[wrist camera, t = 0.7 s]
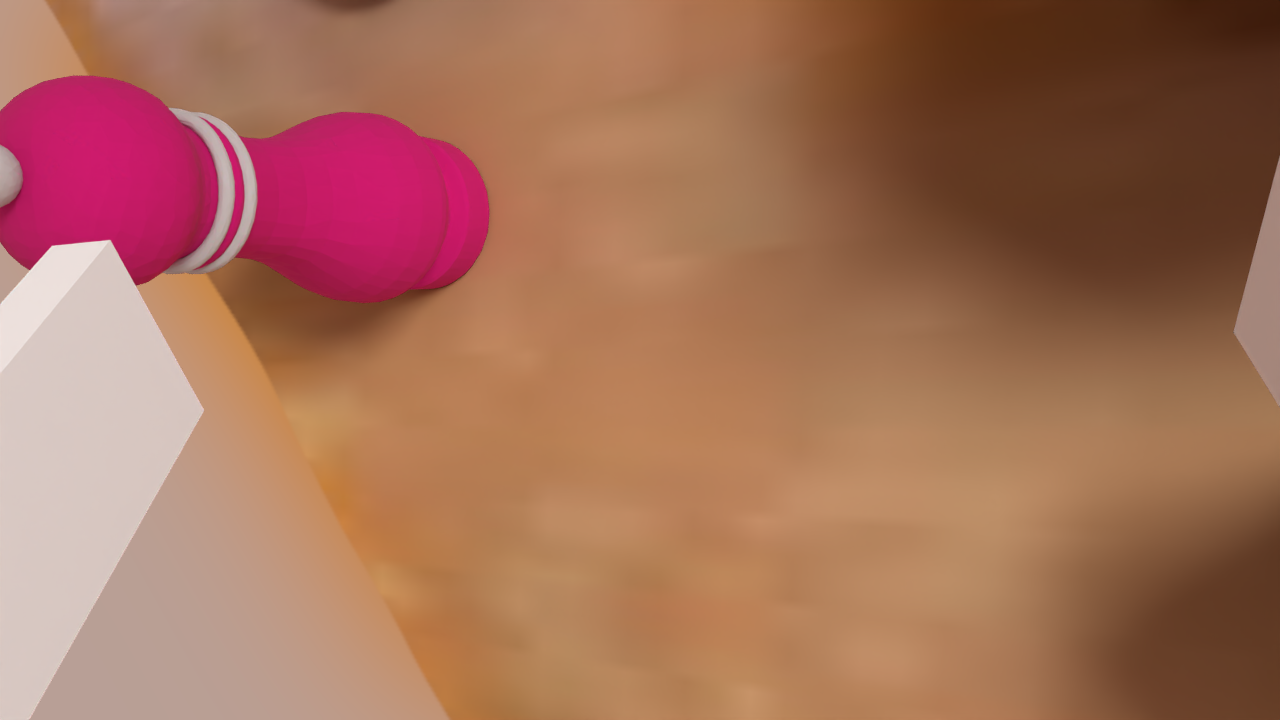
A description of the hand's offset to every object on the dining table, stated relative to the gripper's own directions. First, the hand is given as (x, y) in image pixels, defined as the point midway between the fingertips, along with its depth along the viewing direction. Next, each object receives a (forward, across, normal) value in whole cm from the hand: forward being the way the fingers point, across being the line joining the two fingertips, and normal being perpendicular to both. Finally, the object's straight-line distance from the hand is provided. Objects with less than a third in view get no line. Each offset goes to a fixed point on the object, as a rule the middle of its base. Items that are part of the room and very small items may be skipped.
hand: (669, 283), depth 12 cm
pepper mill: (+27, -13, -14) cm, 34 cm away
